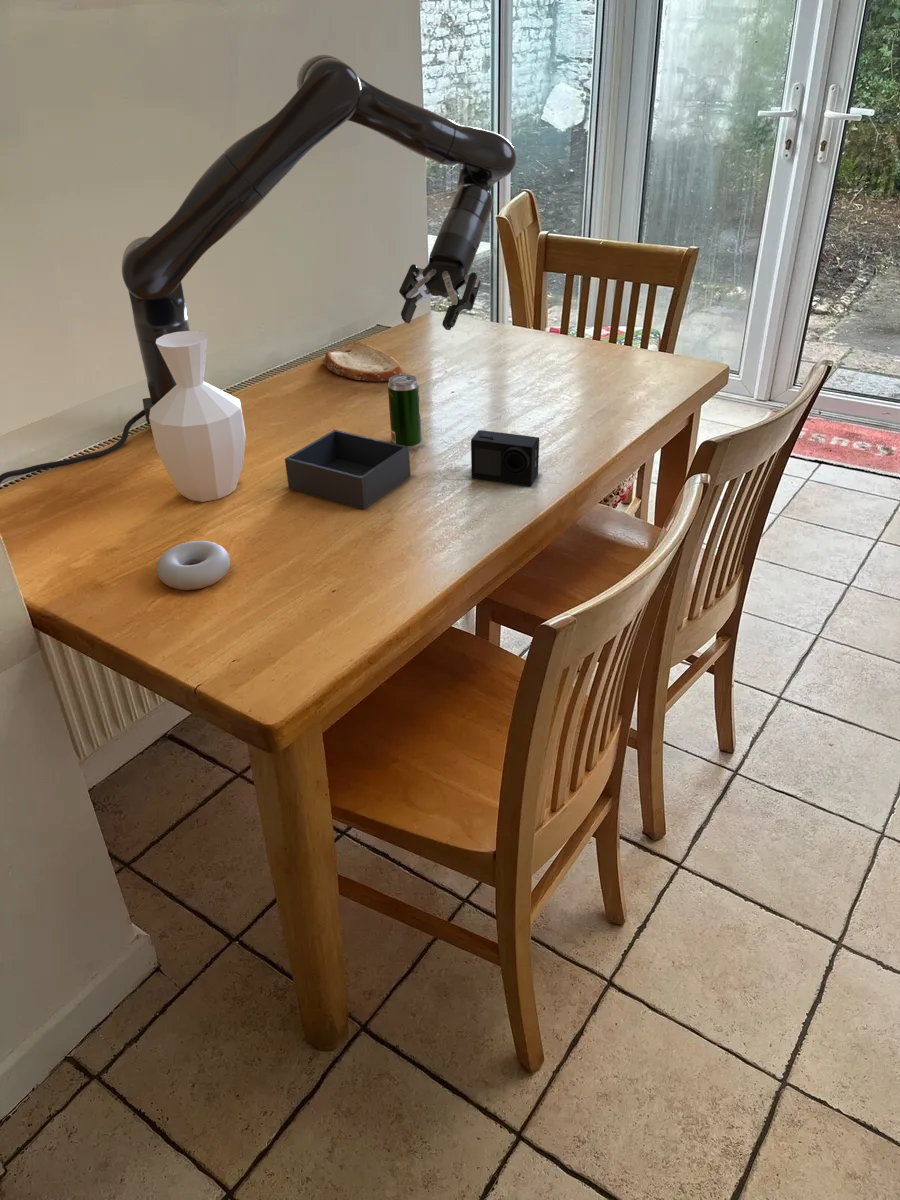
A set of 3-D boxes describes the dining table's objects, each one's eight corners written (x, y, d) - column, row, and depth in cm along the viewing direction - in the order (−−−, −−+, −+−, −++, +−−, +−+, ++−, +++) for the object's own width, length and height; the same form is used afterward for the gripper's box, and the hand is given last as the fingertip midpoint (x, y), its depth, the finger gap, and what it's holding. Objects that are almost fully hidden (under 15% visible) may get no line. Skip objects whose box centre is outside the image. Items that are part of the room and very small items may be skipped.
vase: (178, 518, 139) (143, 361, 125) (157, 482, 149) (123, 334, 135) (266, 497, 144) (242, 343, 130) (240, 464, 154) (216, 319, 140)
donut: (236, 555, 129) (165, 558, 129) (232, 534, 127) (161, 537, 127) (227, 593, 121) (152, 596, 120) (223, 571, 119) (147, 575, 118)
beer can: (401, 453, 156) (397, 387, 150) (386, 443, 160) (381, 378, 153) (427, 445, 159) (424, 380, 152) (411, 435, 163) (408, 371, 156)
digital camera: (468, 481, 147) (467, 442, 143) (478, 467, 151) (478, 429, 147) (529, 490, 144) (530, 450, 140) (538, 475, 148) (539, 436, 144)
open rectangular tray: (364, 509, 139) (361, 478, 136) (288, 488, 146) (284, 458, 143) (410, 476, 149) (408, 446, 146) (337, 458, 155) (334, 429, 152)
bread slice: (403, 381, 186) (402, 364, 184) (317, 383, 186) (315, 366, 184) (407, 353, 201) (406, 336, 198) (328, 355, 201) (326, 338, 199)
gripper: (415, 226, 160) (382, 307, 158) (484, 234, 153) (451, 318, 152) (432, 251, 166) (401, 329, 165) (499, 259, 160) (467, 341, 158)
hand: (425, 324), depth 158 cm, fingers open, 8 cm apart
